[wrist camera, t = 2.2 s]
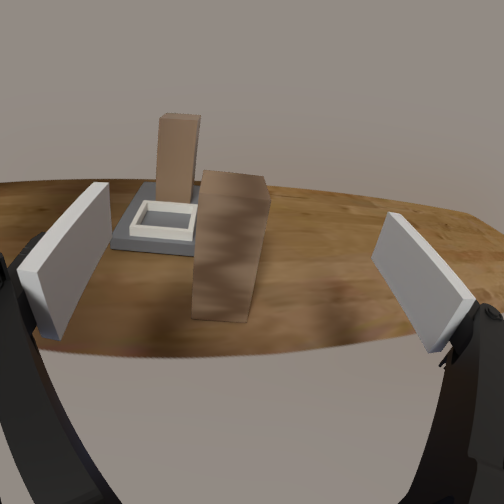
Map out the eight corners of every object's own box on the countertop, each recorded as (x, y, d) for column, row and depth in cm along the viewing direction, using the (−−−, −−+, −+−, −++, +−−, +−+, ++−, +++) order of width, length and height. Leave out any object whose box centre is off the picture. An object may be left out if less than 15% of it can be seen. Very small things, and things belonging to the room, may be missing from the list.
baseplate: (110, 248, 34) (105, 134, 27) (144, 190, 49) (147, 109, 42) (210, 257, 36) (224, 141, 28) (215, 195, 51) (225, 115, 43)
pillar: (191, 318, 27) (198, 192, 21) (194, 283, 31) (203, 169, 25) (246, 322, 28) (271, 200, 22) (243, 287, 32) (263, 176, 26)
